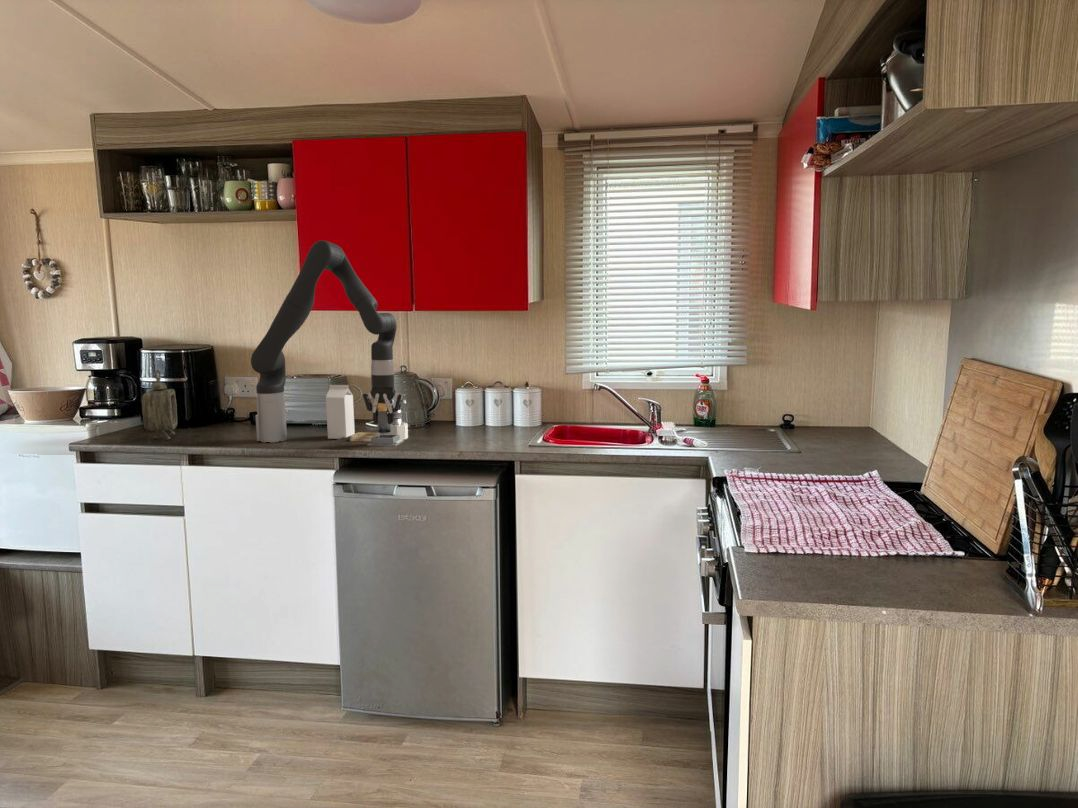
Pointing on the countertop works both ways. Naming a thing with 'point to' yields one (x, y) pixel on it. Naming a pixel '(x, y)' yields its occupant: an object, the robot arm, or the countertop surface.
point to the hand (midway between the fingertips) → (383, 423)
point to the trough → (362, 436)
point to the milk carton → (339, 412)
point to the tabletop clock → (159, 408)
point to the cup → (400, 430)
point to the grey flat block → (385, 440)
